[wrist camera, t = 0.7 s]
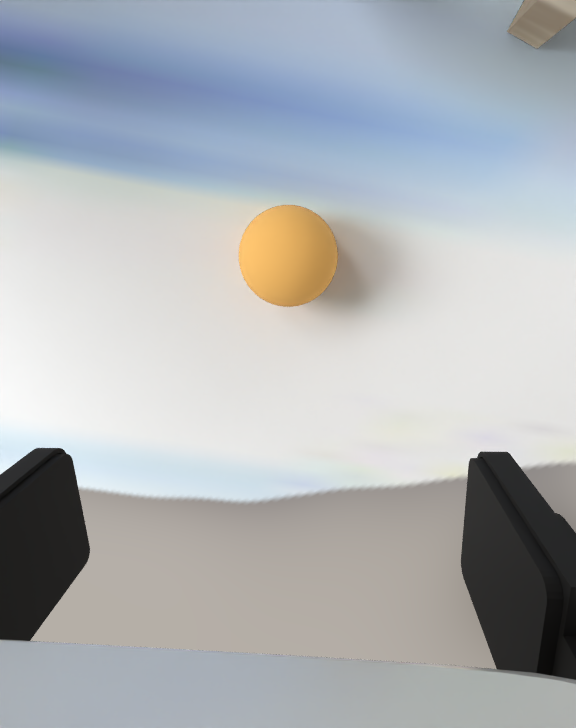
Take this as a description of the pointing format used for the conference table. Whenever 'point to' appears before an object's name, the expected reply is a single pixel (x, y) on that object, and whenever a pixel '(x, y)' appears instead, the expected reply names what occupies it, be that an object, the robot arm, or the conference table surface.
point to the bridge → (542, 20)
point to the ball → (288, 255)
